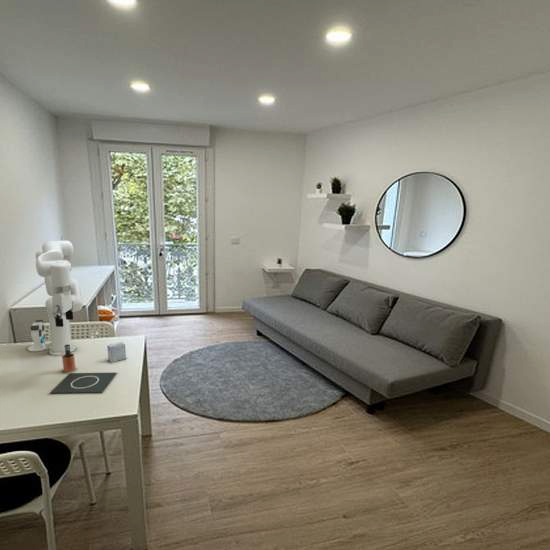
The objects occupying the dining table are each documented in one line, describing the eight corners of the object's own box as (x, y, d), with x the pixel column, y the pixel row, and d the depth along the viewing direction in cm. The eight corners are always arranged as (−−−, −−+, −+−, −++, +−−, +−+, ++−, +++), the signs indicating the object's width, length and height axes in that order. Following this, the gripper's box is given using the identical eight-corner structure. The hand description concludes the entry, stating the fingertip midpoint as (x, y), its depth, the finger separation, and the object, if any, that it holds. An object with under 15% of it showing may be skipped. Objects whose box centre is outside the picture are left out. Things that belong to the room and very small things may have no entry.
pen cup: (61, 373, 174) (60, 358, 172) (66, 368, 179) (65, 353, 178) (72, 372, 175) (71, 357, 173) (77, 368, 180) (76, 353, 178)
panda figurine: (48, 350, 199) (45, 325, 196) (24, 352, 195) (21, 327, 192) (53, 342, 210) (50, 318, 207) (30, 344, 206) (27, 320, 203)
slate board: (50, 393, 156) (50, 392, 155) (69, 374, 173) (69, 373, 173) (101, 392, 158) (101, 391, 157) (116, 373, 175) (116, 372, 175)
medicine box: (123, 356, 194) (122, 341, 193) (126, 358, 191) (125, 343, 190) (108, 360, 189) (107, 345, 187) (111, 363, 186) (110, 347, 184)
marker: (66, 370, 176) (63, 346, 173) (68, 368, 178) (65, 344, 175) (70, 370, 176) (68, 346, 173) (73, 368, 178) (70, 344, 175)
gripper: (62, 284, 176) (65, 316, 180) (43, 293, 160) (47, 329, 163) (78, 284, 177) (80, 317, 181) (60, 293, 160) (64, 329, 164)
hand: (64, 322), depth 172 cm, fingers open, 9 cm apart
